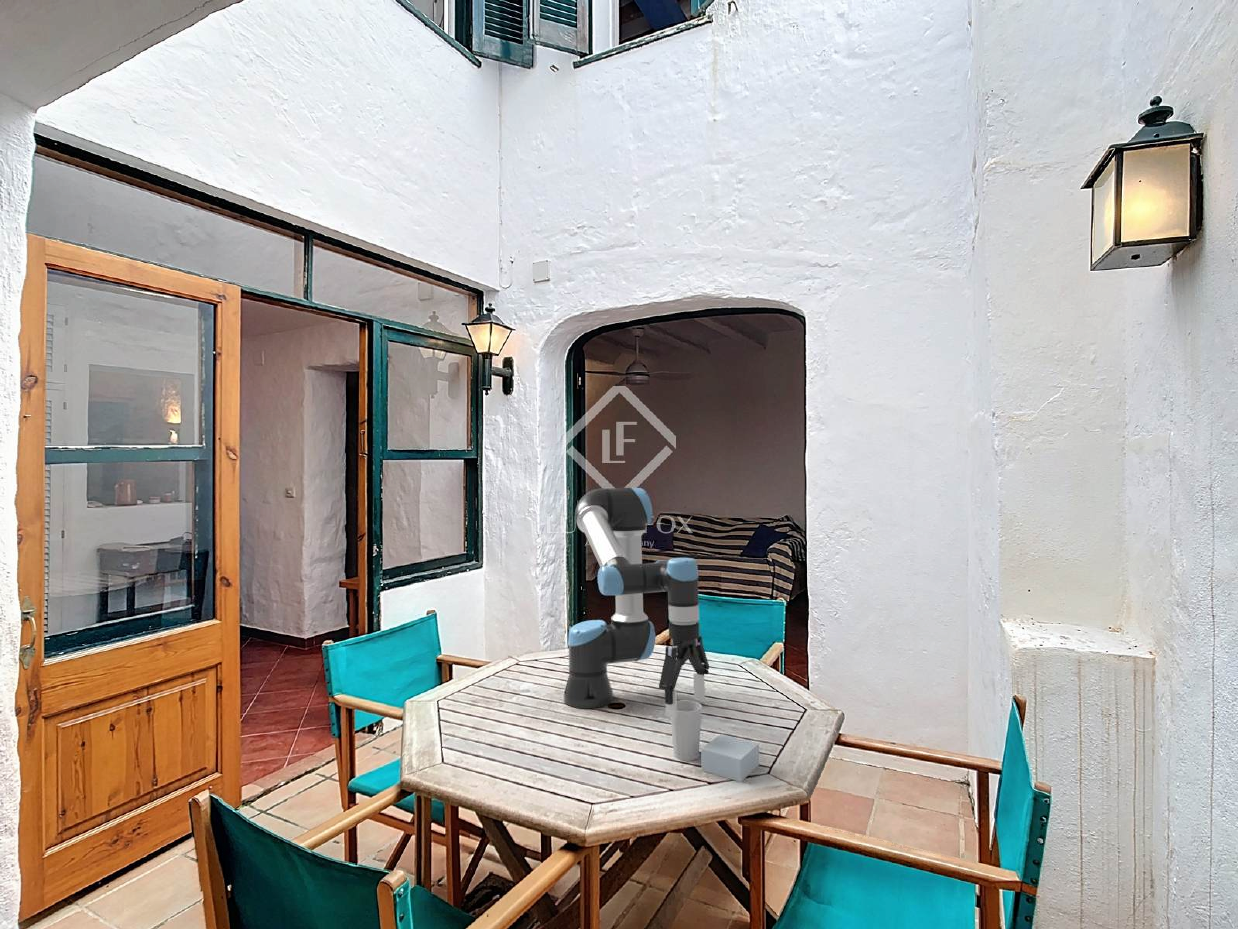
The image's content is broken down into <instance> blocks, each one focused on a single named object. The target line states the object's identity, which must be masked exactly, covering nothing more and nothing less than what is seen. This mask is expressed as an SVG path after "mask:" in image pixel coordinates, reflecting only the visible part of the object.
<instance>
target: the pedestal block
mask: <svg viewBox="0 0 1238 929" xmlns="http://www.w3.org/2000/svg"><path fill="white" fill-rule="evenodd" d="M700 754H701V755H700V763H701V764H700V765H701V771H703V772H705V773H710V774H713V775H716V776H719V777H722V778H726V779H729V780H733V781H736V782H740V783H742V781H744V780H745V779H746V778H747V777H748V776H749V775H750V774H752V773H753V771H754V770H756V769H757V768H758V767H759V766H760V743H759V742H758V743H757V742H753V741H749V740H745V739H741V738H737V737H734V736H729V735H727V734H723V733H720V734H719V735H718V736H716V737H715V738H713V739H712V740H711V741H709V742H708V743H707V744H705V745H704V746H703V747H702V748H700Z"/></svg>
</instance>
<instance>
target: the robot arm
mask: <svg viewBox="0 0 1238 929" xmlns="http://www.w3.org/2000/svg"><path fill="white" fill-rule="evenodd" d="M652 507H653V506H652V503H651V498H650V497H649V495H648V493H647V491H646V490H645V489H644V488H641V487H612V488H597V489H592V490H590V491H588V492H587V493H585V494H584V495H583V496H582V497H581V498H580V499H579V501H578V503H577V504H576V507H575V512H574V517H575V518H574V519H575V522H576V525H577V527H578V529H579V530H580V532H582V533H584V534H585V537H586V539H587V541H588V543H589V545H590V548H591V550H592V552H593V554H594V556H595V559H596V561H597V563H598V566H599V569H598V572H597V584H598V589H599V592H600V593H601V595H604V596H615V613H614V614H613V615H612V616H611V617H610V620H611V622H610V624H607V623H606V621H604V620H602V619H596V620H595V619H592V620H585V621H581V622H579V623H577V624H574V625H572V627H570V629H569V630H568V631H569V632H568V641H567V645H568V673H569V674H568V678H567V682H566V685H565V689H564V692H563V702H564V704H566V705H567V706H570V707H572V708H577V709H578V708H579V709H593V708H594V709H596V708H601V707H603V706H607V705H609V704H611V703H612V702H613V701H614V690H613V688H612V686H611V683H610V682H611V681H610V680H609V676H608V667H607V666H608V664H609V665H610V664H618V663H626V662H628V663H629V662H638V661H643V660H647V659H649V658H651V656H652V654H653V653H654V650H655V645H656V632H655V627H654V624H653V622H652V621H650V620H649V616H648V615H647V614H646V613H645V612H644V598H643V597H644V595H643V594H651V593H662V592H667V604H668V607H667V609H668V620H669V623H668V637H669V638H670V639H672V641H673V642H672V643H673V644H672V646H669V645H668V646H667V645H666V646H665V653H664V656H665V657H664V660H663V666H662V671H661V674H660V679H659V684H658V688H659V689H660V690H664V702H665V705H664V706H665V717H668V718H670V717H671V718H675V719H676V718H677V701H678V700H677V699H678V698H677V697H678V696H677V691H678V690H677V689H676V685H677V682H678V680H679V676H680V673H681V670H682V667H683V666H684V665H685V664H686V662H687V661H689V663H690V665H691V666H692V668H693V670H694V672H695V673H693V693H694V694H693V699H694V700H693V701H698V702H705V701H706V691H705V690H706V688H705V685H706V684H705V682H706V681H705V675H708V674H709V671H710V665H709V664H710V663H709V660H708V657H707V654H706V651H705V648H704V643H703V637H702V635H700V623H699V622H698V621H700V608H699V606H700V604H699V602H700V601H699V576H700V574H699V570H698V569H699V568H698V562H697V560H696V559H695V558H692V557H674V558H670V559H668V560H657V561H655V562H651V563H650V562H648V563H647V562H646V563H643V558H642V556H643V552H642V550H643V549H642V548H643V547H642V536H643V535H644V533H645V532H646V531H647V525H649V524H650V523H651V522H652V520H653V518H652V517H653V508H652ZM671 718H670V719H671Z"/></svg>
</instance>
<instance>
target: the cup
mask: <svg viewBox="0 0 1238 929" xmlns="http://www.w3.org/2000/svg"><path fill="white" fill-rule="evenodd" d="M702 708H703V705H702V704H701V703H700V702H697V701H696V700H687V699H686V700H685V699H684V700H683V699H681V700H677V718H676V719H675V718H671V717H669V718H670V726H671V735H672V745H673V747H672V748H673V757H674V758H675V759H676V760H680V761H684V762H685V761H687V762H690V761H695V760H697V759H698V758H699V757H700V741H701V739H700V738H701V723H702V722H701V721H702Z"/></svg>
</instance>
